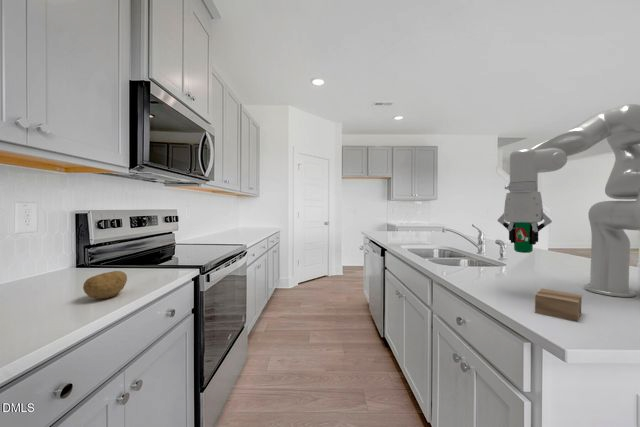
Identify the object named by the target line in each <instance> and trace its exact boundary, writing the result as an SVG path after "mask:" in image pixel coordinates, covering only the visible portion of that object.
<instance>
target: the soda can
mask: <svg viewBox="0 0 640 427" xmlns="http://www.w3.org/2000/svg"><path fill="white" fill-rule="evenodd" d="M532 232H533V228H532V225H531V223H522V222H520V223H514V243H513V250H514V251H515V252H516V253H524V254H529V253H532V252H533V251H534V250H533V248H534V247H533V245H532V244H531V233H532Z"/></svg>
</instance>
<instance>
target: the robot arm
mask: <svg viewBox="0 0 640 427" xmlns="http://www.w3.org/2000/svg"><path fill="white" fill-rule="evenodd" d="M605 139H606V141H607V143H608V144H609V147H610V148H611V149H612V152H613V153H614V157H615V159H614V163H613V167H612V170H610V171H611V172H610V173H609V177H608V178H607V180H606V181H607V182H606V184H605V187H604V194H605V195H606V196H607V197H608V198H610V199H613V200H604V201H600V202H599V201H598V202H596V203H594V204H593V205H591V207H590V208H589V209H588V214H587V215H588V221H589V225H590V231H591V247H590V248H591V249H590V273H589V274H590V276H589V277H590V278H589V279H590V280H589V283H586V284H584V285H583V288H584V290H586V291H588V292H591V293H595V294H599V295H606V296H610V297H620V298H633V297H635V296H636V292H635V291H634V290H632V289H630V288H629V284H630V282H629V281H630V262H631V261H630V259H631V256H630V255H631V240H630V238H629V237H628V234H627V233H626V232H625V230H627V231H640V104H635V103H630V104H629V103H628V104H624V105H620V106H617V107H613V108H610V109H607V110H603V111H601V112H597V113H595V114H594V115H591V116H590V117H589V118H587V119H585V120H584V121H582V122H580V123H578V124H577V125H575V126H573V127H572V128H570V129H568V130H566V131H564V132H562V133H560V134H558V135H556V136H554V137H552V138H549V139H547V140H545V141H543V142H541V143H538V144H537V145H534V146H533V147H531V148H524V149H518V150H514V151H512V152H511V153H510V154H509V183H508V184H507V185H504V189H505V190H508V191H509V192H506V195H505V200H504V208H503V209H504V211H503V213H502V215H501V216H500V217H498V219H497V222H498V223H500V224H501V225H502V226H503V227H504V228H505V229H507V231H508V240H509V241H510V244H514V223H520V222H522V223H531V225H532V228H533V232H532V233H531V244H532V245H536V244H537V243H538V242H539V232H540V231H541V230H542V229H544V228H545V227H547V226H548V225H550V224H552V223H553V220H551V219H550V217H548V216H547V215H546V213H545V212H544V209H543V208H544V205H543V199H542V194H541V191H538V190H539V189H538V188H539V187H538V186H539V185H538V180H539V178H538V177H539V176H538V175H539V173H551V172H556V171H559V170H561V169H562V168H563V167H564V166H565V165H566V164H567V161H568V157H571V156H575V155H577V154H580V153H583V152H585V151H587V150H589V149H590V148H592V147H594V146H595V145H596V144H598V143H600V142H601V141H604V140H605ZM540 222H542V223H541V224H538V223H540Z"/></svg>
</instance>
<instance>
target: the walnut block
mask: <svg viewBox="0 0 640 427" xmlns="http://www.w3.org/2000/svg"><path fill="white" fill-rule="evenodd" d="M582 296H583V295H582V294H576V293H571V292H564V291H559V290H554V289H546V288H541V289H540V290H539V291H537V293H536V294H535V300H534V303H535V305H534V313H535V314H540V315H546V316H549V317H554V318H558V319H564V320H568V321H572V322H579V319H580V317H581V314H582V301H583V298H582Z"/></svg>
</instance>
